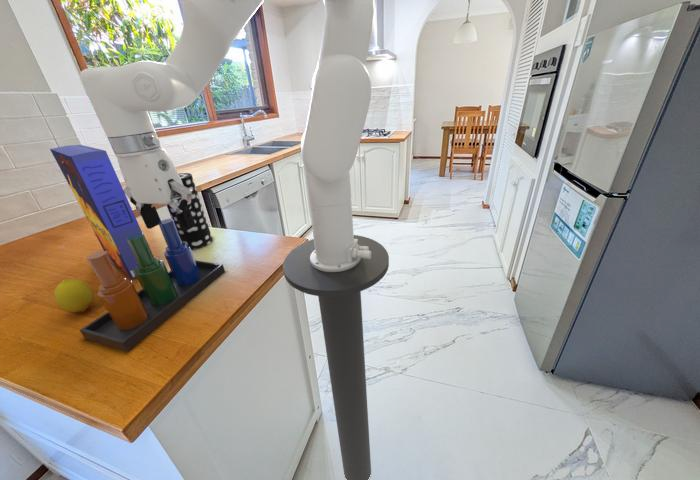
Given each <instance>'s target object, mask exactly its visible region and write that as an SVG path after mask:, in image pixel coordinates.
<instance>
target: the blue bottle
mask: <svg viewBox="0 0 700 480" xmlns="http://www.w3.org/2000/svg"><path fill="white" fill-rule="evenodd" d="M158 224H159V225H158V226H159V229H160V231H161V234H162V236H163V238H164V241H165V244H166V247H165V251H164V252H163V255H164V258H165V260H166V262H167V265H168V267H169V271H170V270H171V272H172V274H173V277H174V279H175V281H176V284H177V285H178V286H187V285H191V284H193V283H195V282H197V281H198V280H199V279H200V277H201V275H200V272H199V270H198V267H197V264H196V262H195V260H196V259H195V257H194V254H193V250H192V249H191V248H190V246H189V245H186V243H184V242H182V241H181V239H180V236H179V234H178V231H177V228H176V226H175V223H174V221H173V219H172V218H166V219H162V220H161V221H160V222H159V223H158Z"/></svg>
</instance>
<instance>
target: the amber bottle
mask: <svg viewBox="0 0 700 480" xmlns="http://www.w3.org/2000/svg"><path fill="white" fill-rule="evenodd" d="M86 260H87V261H88V263H89V265H90V267H91V269H92V270H93V272H94V273H95V276H96V277H97V279H98V281H99V282H100V285H99V287H98V289H99V290H98V291H97V296H98V298H99V300H100V302H101V303H102V305H103V306H104V308H105V310H106V312H108V313H109V315H110V317H111V318H112V320H113V322H114V323H115V325H116V327H117V328H118V329H119V330H123V331H124V330H130V329H133V328H135V327H137V326H139V325H141V324H142V323H144V322H145V321H146V320H147V318H148V316H149V314H148V312H147V310H146V308H145V306H144V304H143V302H142V300H141V298H140V296H139V295H138V293H137V292H138V291H137V289H136V287H135V285H134V283H133V281H132V279H131V280H130V279H127V278H126V277H124V276H121V275H120V273H119V272H118V270H117V267H116V266H115V263H114V262H113V261H112V260H111V258H110V256H109V255H108V253H107V251H104V250H99V251H95V252H93V253H90V254H88V256H86Z"/></svg>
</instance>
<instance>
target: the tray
mask: <svg viewBox="0 0 700 480" xmlns="http://www.w3.org/2000/svg"><path fill="white" fill-rule="evenodd" d="M195 262H196V264H197V267H198V270H199V272H200V275H201V277H200V279H199V280H198V281H197V282H195V283H193V284H191V285H187V286H178V285H177V284H176V281H175V279H174V277H173V274H172V272H171V270H170V269H169V271H168V273H169V275H170V278H171V280H172V282H173V285H174V287H175V289H176V292H177V296H176V297H175V299H173V300H172V301H171V302H169V303H167V304H164V305H161V306H152V305H151V304H150V303H149V301H148V299H147V297H146V295H145V293H144V291H143V289H142V288H141V289H140V290H138V291H137V293H138V295H139V296H140V298H141V300H142V302H143V304H144V306H145V308H146V310H147V312H148V314H149V316H148V318H147V320H146V321H145V322H144V323H142V324H141V325H139V326H137V327H135V328H133V329H130V330H124V331H123V330H119V329H118V328H117V327H116V325H115V323H114V322H113V320H112V318H111V317H110V315H109V313H108V312H107V311H106V312H105V313H103V314H102V315H100V316H99V317H97V318H96V319H94V320H93V321H91V322H90V323H88V324H86V325H85V326H84V327H82V328H80V329H79V332H80V333H81V335H82V336H83V338H84V339H85V340H87V341H90V342H92V343H93V342H94V343H97V344H99V345H104V346H106V347H111V348H113V349H117V350H120V351H123V352H127V353H129V352H130V351H131V350H132V349H134V348H135V347H136V346H137V345H139V344H140V343H141V342H143V340H145V339H146V338H147V337H148V336H150V334H152V333H153V332H154V331H156V330H157V329H158V328H159V327H160V326H161V325H163V324H164V323H165V322H167V321H168V320H169V319H170V318H171V317H172V316H174V315H175V314H177V312H179V311H180V310H181V309H182V308H183V307H185V306H186V305H187V304H188V303H189V302H191V301H192V300H193V299H194V298H196V297H197V296H198V295H199V294H200V293H202V292H203V291H204V290H205V289H206V288H208V287H209V286H210V285H211V284H213V283H214V282H216V280H218V279H219V278H221V276H223V275H224V274H225V273H226V270H225V267H224V264H222V263H217V262H208V261H203V260H202V261H201V260H196V259H195Z"/></svg>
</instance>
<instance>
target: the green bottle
mask: <svg viewBox="0 0 700 480" xmlns="http://www.w3.org/2000/svg"><path fill="white" fill-rule="evenodd" d="M147 240H148V239H147V238H146V237H145V234H144V232H142V233H137V234H133V235H130V236H128V237H127V241H128V243H129V245H130V247H131V249H132V251H133V253H134V256H135V258H136V260H137V262H138V264H137V265H136V269H135V271H134V272H135V275H136V277H137V278H136V279H137V281H138V282H139V285H140V287H141V289H143V291H144V293H145V295H146V297H147V299H148V301H149V303H150V304H151V305H152V306H161V305H164V304H167V303H169V302H171V301H172V300H173V299H175V297H176V296H177V292H176V289H175V287H174V285H173V282H172V280H171V278H170V275H169V273H168V272H169V271H168V269H167V266H166V264H165V262H164V261H163V260H160V259H159V258H158V257H155V256H154V254H153V252H152V249H151V247H150V245H149V242H148V241H147Z"/></svg>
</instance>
